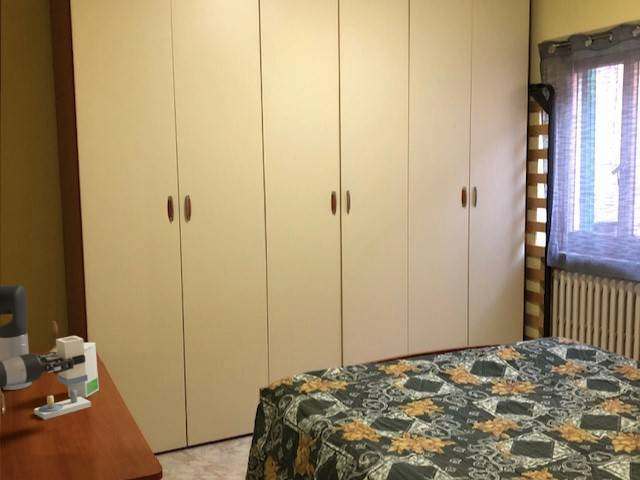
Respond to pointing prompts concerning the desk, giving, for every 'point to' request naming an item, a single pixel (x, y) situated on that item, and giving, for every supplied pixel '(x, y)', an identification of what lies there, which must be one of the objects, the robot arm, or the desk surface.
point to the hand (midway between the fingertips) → (79, 356)
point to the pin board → (62, 406)
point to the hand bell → (54, 335)
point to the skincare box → (87, 373)
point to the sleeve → (70, 349)
